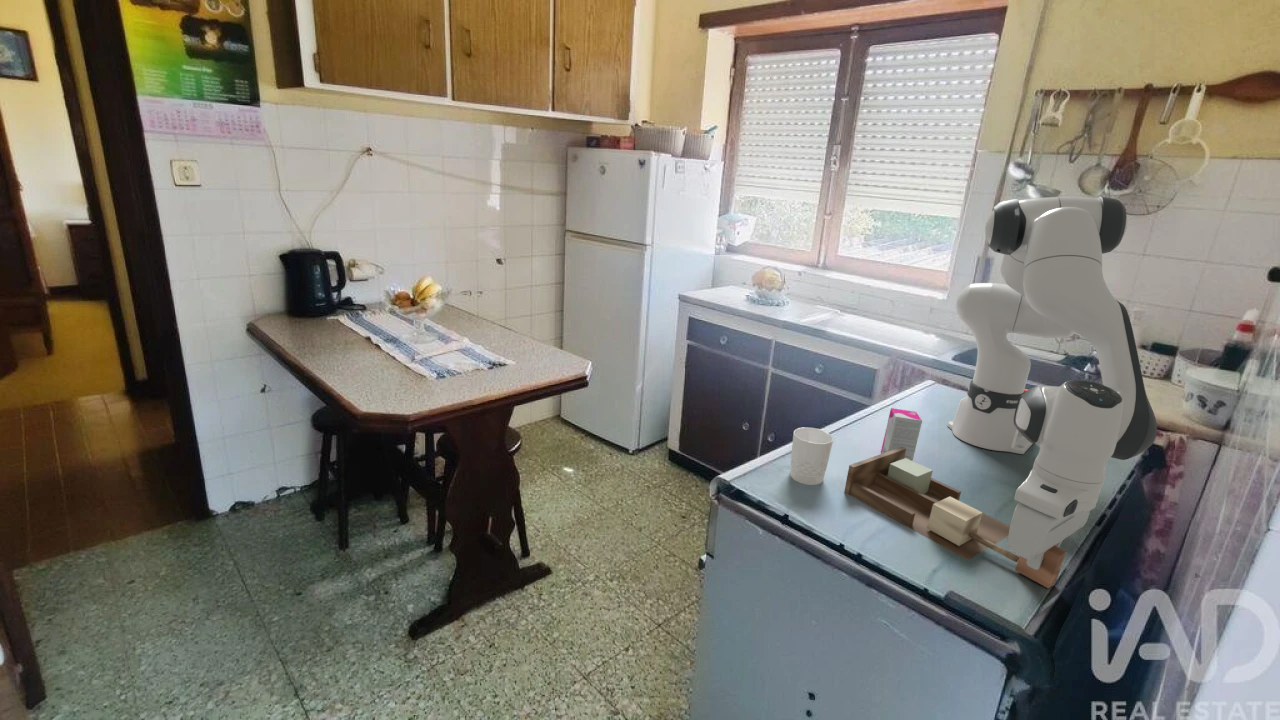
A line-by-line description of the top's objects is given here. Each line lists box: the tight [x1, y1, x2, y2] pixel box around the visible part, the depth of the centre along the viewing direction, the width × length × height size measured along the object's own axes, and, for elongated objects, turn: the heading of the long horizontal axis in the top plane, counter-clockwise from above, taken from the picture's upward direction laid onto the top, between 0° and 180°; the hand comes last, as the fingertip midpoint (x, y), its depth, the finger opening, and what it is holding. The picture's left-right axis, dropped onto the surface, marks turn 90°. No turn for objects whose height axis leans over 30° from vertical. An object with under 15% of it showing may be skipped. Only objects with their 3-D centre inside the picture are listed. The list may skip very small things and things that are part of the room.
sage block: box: [888, 458, 934, 494], centre depth 121 cm, size 6×6×5 cm
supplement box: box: [880, 407, 923, 461], centre depth 134 cm, size 6×6×12 cm
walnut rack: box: [843, 447, 1010, 561], centre depth 114 cm, size 18×25×6 cm
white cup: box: [789, 426, 834, 486], centre depth 123 cm, size 8×8×10 cm
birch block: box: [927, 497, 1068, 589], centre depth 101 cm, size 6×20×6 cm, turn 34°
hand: (1039, 562), depth 95 cm, fingers closed on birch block, 2 cm apart
